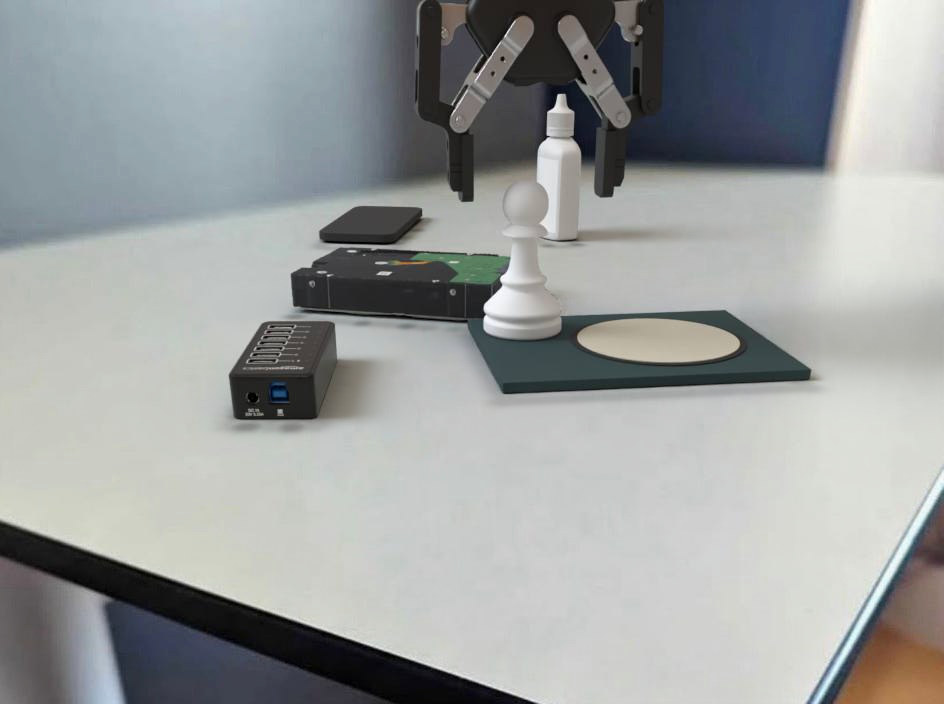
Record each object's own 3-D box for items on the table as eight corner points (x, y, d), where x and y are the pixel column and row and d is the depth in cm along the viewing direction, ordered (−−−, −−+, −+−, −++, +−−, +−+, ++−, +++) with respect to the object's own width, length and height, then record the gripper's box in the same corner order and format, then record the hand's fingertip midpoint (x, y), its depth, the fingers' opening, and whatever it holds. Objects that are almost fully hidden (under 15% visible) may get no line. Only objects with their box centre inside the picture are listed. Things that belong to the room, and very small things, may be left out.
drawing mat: (724, 318, 71) (725, 307, 71) (810, 379, 59) (812, 366, 59) (467, 328, 69) (467, 316, 69) (502, 393, 57) (502, 380, 57)
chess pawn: (566, 340, 64) (574, 185, 59) (486, 342, 64) (488, 186, 59) (555, 320, 68) (561, 173, 64) (480, 321, 68) (480, 174, 63)
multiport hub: (338, 358, 63) (335, 320, 62) (316, 418, 53) (313, 375, 52) (266, 358, 63) (262, 320, 62) (231, 418, 53) (226, 375, 52)
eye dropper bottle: (529, 240, 96) (533, 96, 89) (536, 230, 100) (541, 92, 94) (576, 242, 95) (583, 96, 89) (581, 231, 100) (588, 92, 93)
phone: (314, 232, 94) (355, 205, 107) (315, 242, 95) (355, 213, 108) (393, 235, 93) (425, 207, 106) (393, 244, 94) (425, 215, 107)
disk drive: (291, 314, 73) (496, 324, 70) (287, 273, 71) (496, 281, 68) (340, 282, 81) (524, 289, 78) (337, 245, 80) (525, 251, 77)
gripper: (414, -141, 50) (425, 213, 58) (696, -141, 52) (667, 204, 60) (401, -124, 56) (413, 193, 65) (652, -124, 58) (632, 185, 66)
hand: (535, 198), depth 62 cm, fingers open, 8 cm apart
